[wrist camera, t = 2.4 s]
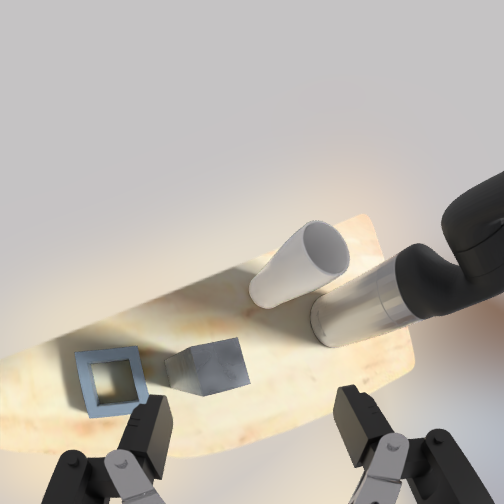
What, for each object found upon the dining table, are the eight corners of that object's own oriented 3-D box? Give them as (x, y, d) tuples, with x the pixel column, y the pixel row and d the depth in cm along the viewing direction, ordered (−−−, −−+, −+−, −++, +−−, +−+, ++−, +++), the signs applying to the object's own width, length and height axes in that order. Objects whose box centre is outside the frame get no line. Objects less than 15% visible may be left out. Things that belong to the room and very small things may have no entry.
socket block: (137, 348, 29) (137, 345, 27) (151, 407, 26) (153, 410, 24) (79, 354, 25) (74, 352, 23) (93, 414, 23) (89, 418, 20)
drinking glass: (235, 276, 39) (290, 222, 27) (273, 267, 43) (333, 216, 31) (253, 320, 37) (318, 284, 25) (290, 306, 41) (359, 268, 29)
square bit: (190, 356, 31) (237, 337, 19) (197, 382, 30) (250, 383, 17) (163, 360, 30) (190, 346, 17) (170, 387, 29) (203, 396, 16)
